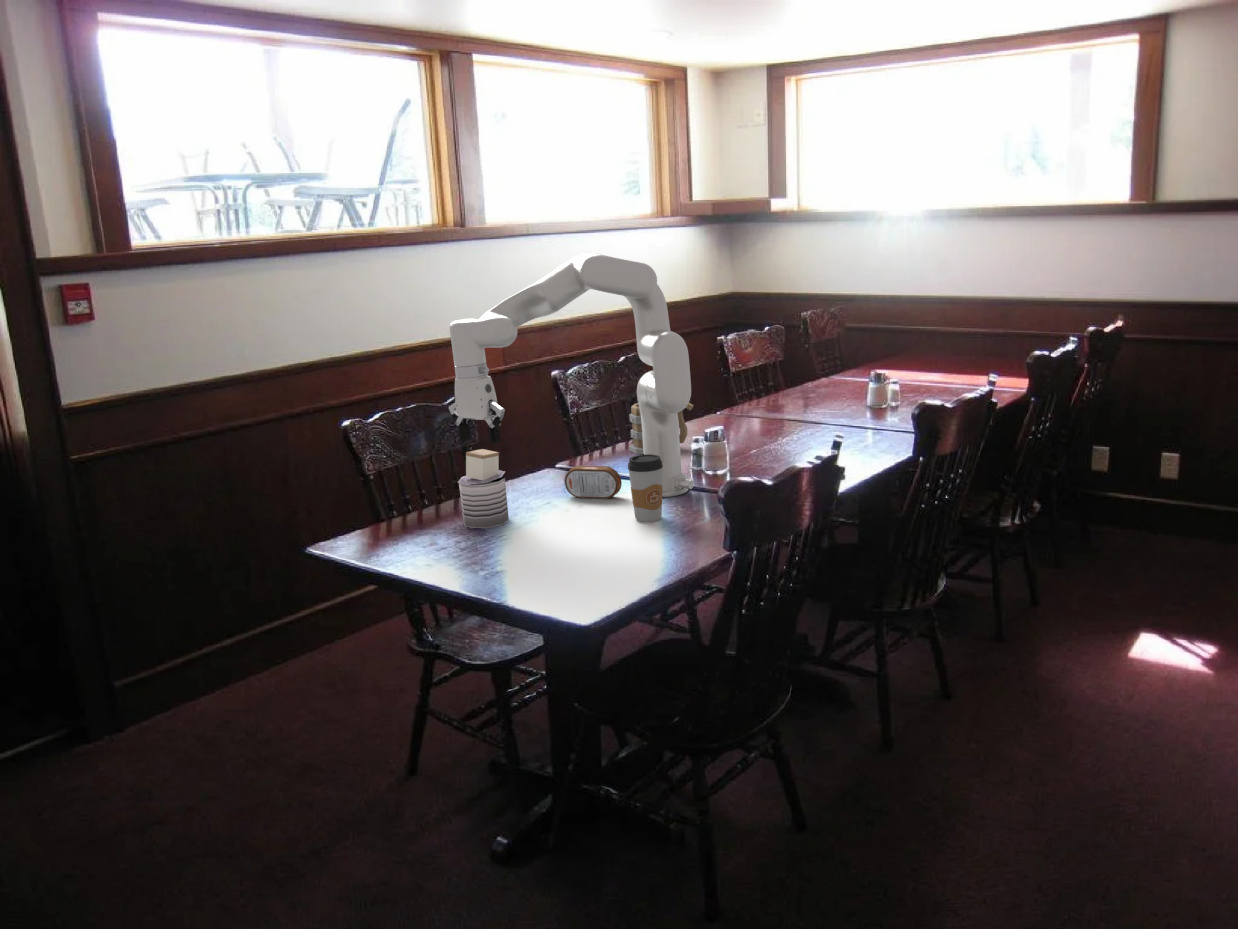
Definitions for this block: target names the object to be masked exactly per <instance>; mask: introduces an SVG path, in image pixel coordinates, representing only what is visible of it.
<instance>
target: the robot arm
mask: <svg viewBox="0 0 1238 929" xmlns="http://www.w3.org/2000/svg"><path fill="white" fill-rule="evenodd" d="M589 290H593V291H594V290H595V291H598V292H601V293H602V292H603V293H607V294H611V295H617V296H623V297H624V298H625V299H626V300H627V301H628V303H629V304H630V306H631V308H632V311H633V317H634V324H635V325H634V326H635V337H636V349H637V354H638V357H639V359H640V360H641V361H642V363H645V364H646V365H648V366H651V367H652V370H649V371H648V372H645V373H644V374H643V375H641V377H640V379H639V380H638V382H637V387H636V396H637V397H636V398H637V403H639V408H640V414H641V422H642V437H643V453H644V455H646V454H651V455H658V456H660V460H661V461H662V465H663V467H662V498H670V497H675V496H681V495H683V494H685V493H687V492H688V491H689V490H692V489H693V487H694V484H695V481H694V479H687V478H686V473H684V472H682V458H681V443H680V438H679V435H680V428H679V421H678V415H677V413H678V412H680V411H682V412H683V411H684V409H687V408H686V406H687V405H688V403H690V402H691V397H692V382H691V370H690V369H691V368H690V358H689V350H688V346H687V344H686V341H685V340H684V338H683V337H682V336H681V335H680V334H678V333H676V332H674V331H672V330H671V326H670V325H671V324H670V318H669V312H668V311H669V310H668V306H667V305H668V304H667V301H666V297H665V295H664V293H663V292H664V291H662V288H660V285H659V284H658V277H657V274H656V272H655V270H654V269H653V267H651V266H650V265H648V264H647V263H645V262H639V261H633V260H630V259H623V258H618V257H613V256H609V255H605V254H601V253H595V252H594V253H592V252H583V253H579V254H576V256H573V257H572V258H571V259H569V260H567V261H566V262H565V263H563V264H561V265H560V266H558V267H557V268H555V269H554V270H553V271H551V272H550V273H548V274H546V275H545V276H543V277H542V278H540V279H539V280H537V281H535V282H534V283H532V284H531V285H528V286H526V287H525V288H523V289H522V290H520V291H518V292H517V293H515V294H512V295H511V296H509V297H507V298H506V299H504V300H501V302H498V304H497V305H495V306H494V307H492V308H491V309H489V310H487V311H486V312H485V313H483V314H482V315H481V316H480V317H479V319H477V318H462V319H457V320H453V321H452V322H451V323H450V324H449V333H450V341H451V342H450V343H451V348H452V349H451V350H452V351H451V352H452V358H453V365H454V373H455V379H454V402H453V403H452V404H451V405H449V406H448V410H449V412H450V414H451V418H452V419H453V421H454V422H455V425H456V426H458V427H457V428H458V434H459V435H458V436H459V441H460V442H461V443H464V442H466V441H470V440H471V438H472V436H471V434H472V433H471V428H470V422H468V421H469V420H475V421H476V420H478V421H480V420H481V421H483V420H484V421H485V422H486V423H487V425H488V426H489V427H487V431H488V439H489V444H491V445H495V444H497V443H500V442H501V440H502V439H501V433H500V432H501V431H500V426H501V425H502V421H503V420H504V416H505V412H506V409H505V408H504V407H503V406H501V405H499V404H498V399H497V394H496V389H495V386H494V382H493V380H492V377H491V375H488V374H489V372H490V368H489V367H488V366H487V365H488V364H487V358H486V351H485V349H486V348H506V347H509V346H511V345H512V344H513V343H514V342H515V341H516V340H517V336H518V328H519V327H521V326H522V325H524V324H526V323H528V322H530V321H532V320H535V319H538V318H543V317H547V316H550V315H553V314H555V313H558V312H559V311H560V310H562V309H563V308H564V307H566V306H568V305H569V304H570V303H571V302H573V301H574V300H576V299H577V298H579V297H581V296H582V295H584V294H585V293H586V292H588V291H589Z"/></svg>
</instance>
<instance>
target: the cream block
mask: <svg viewBox="0 0 1238 929" xmlns="http://www.w3.org/2000/svg"><path fill="white" fill-rule="evenodd" d="M499 456H500V452H498V451H493V450H488V449H484V448H481V449H476V450H471V451H466V452H465V458H466V459H465V476H466V477H469V478H473V479H478V480H482V481H483V480H486V479H488V478H491V477H493V476H495V475H497V474H498V470H500V468H499V458H500V457H499Z"/></svg>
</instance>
